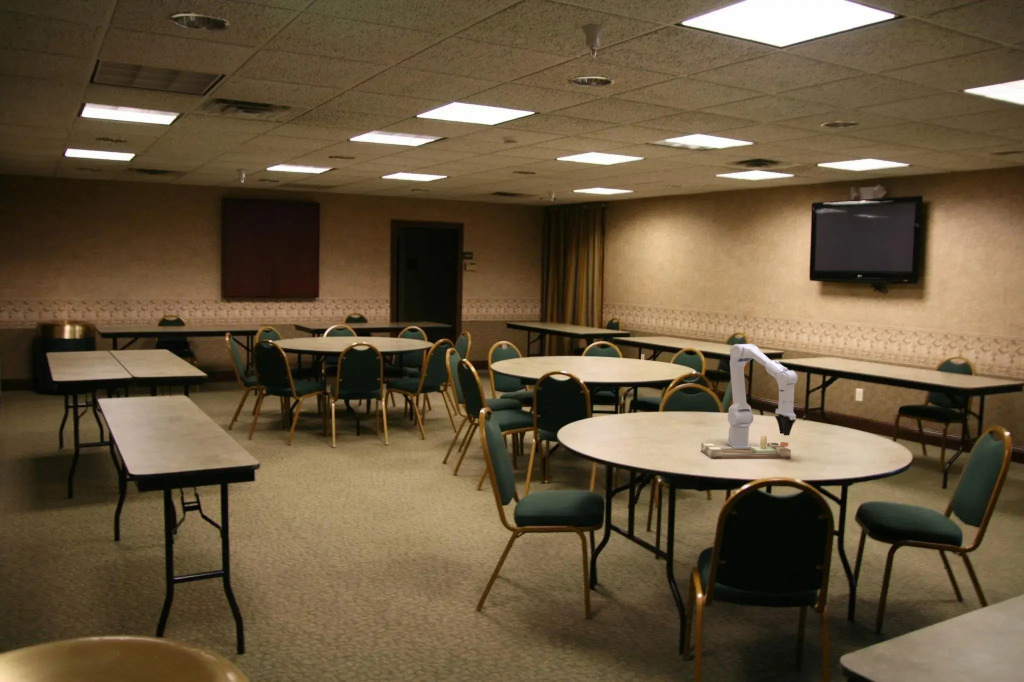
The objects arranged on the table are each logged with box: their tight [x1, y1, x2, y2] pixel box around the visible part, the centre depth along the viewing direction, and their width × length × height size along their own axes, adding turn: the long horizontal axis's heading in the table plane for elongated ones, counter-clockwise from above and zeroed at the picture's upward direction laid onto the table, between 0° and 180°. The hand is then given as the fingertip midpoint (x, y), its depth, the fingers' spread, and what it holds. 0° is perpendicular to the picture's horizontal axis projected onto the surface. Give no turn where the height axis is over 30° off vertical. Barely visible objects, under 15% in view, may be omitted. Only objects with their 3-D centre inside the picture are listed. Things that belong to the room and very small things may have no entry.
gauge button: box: [779, 441, 789, 448], centre depth 318 cm, size 3×3×1 cm
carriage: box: [750, 435, 776, 453], centre depth 322 cm, size 7×8×6 cm
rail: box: [700, 442, 792, 460], centre depth 322 cm, size 14×32×4 cm, turn 95°
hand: (784, 434), depth 317 cm, fingers open, 3 cm apart
